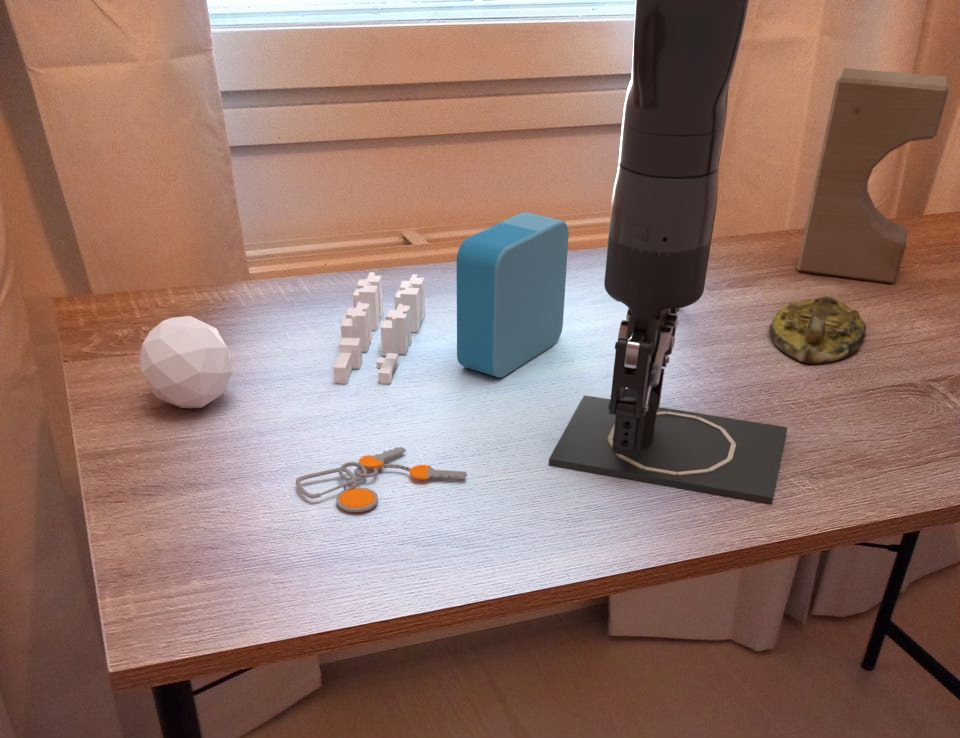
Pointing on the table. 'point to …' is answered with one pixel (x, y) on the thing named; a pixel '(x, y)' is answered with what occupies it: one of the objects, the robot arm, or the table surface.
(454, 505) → the table surface
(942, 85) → the decorative block
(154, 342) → the geometric ball
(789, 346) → the olive lumpy oval slab
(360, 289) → the modular blocks
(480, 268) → the blue rounded slab
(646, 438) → the eye peg
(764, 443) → the slate board
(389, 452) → the key chain
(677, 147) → the robot arm
